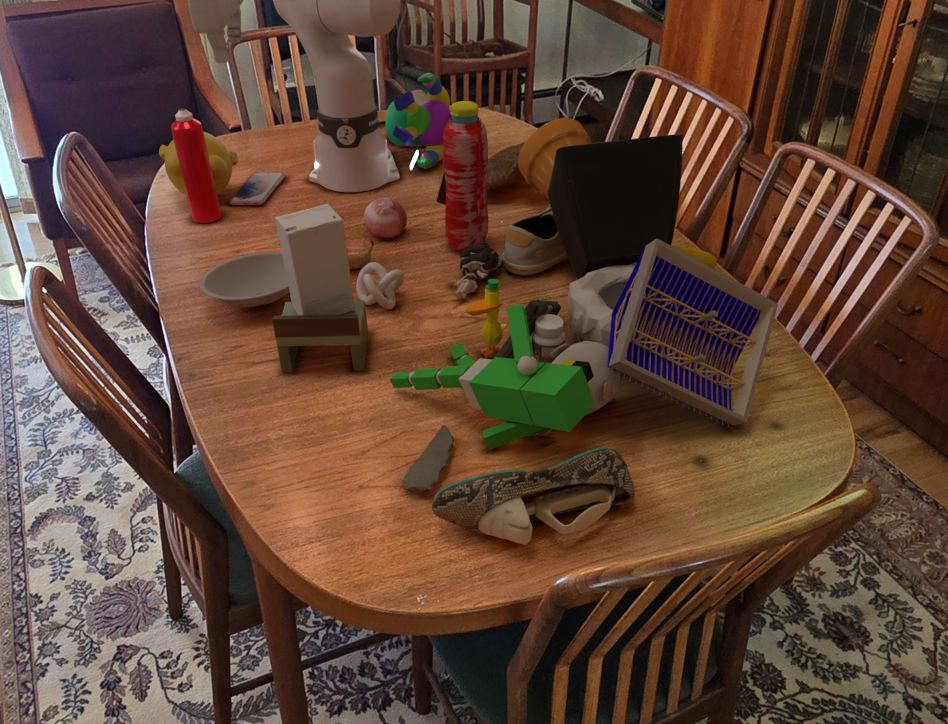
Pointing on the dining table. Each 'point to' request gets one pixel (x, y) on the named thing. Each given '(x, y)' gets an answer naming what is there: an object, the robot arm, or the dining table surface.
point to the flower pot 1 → (548, 150)
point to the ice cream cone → (419, 96)
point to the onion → (385, 218)
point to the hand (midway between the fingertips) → (229, 51)
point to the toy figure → (489, 317)
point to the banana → (360, 259)
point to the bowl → (596, 302)
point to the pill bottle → (547, 337)
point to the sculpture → (218, 160)
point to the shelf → (321, 333)
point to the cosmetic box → (316, 261)
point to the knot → (379, 285)
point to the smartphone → (257, 188)
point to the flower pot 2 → (615, 198)
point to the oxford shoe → (533, 244)
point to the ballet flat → (538, 496)
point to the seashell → (504, 169)
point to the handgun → (530, 322)
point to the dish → (247, 280)
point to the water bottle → (465, 177)
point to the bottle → (195, 167)
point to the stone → (430, 462)
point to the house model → (689, 332)
